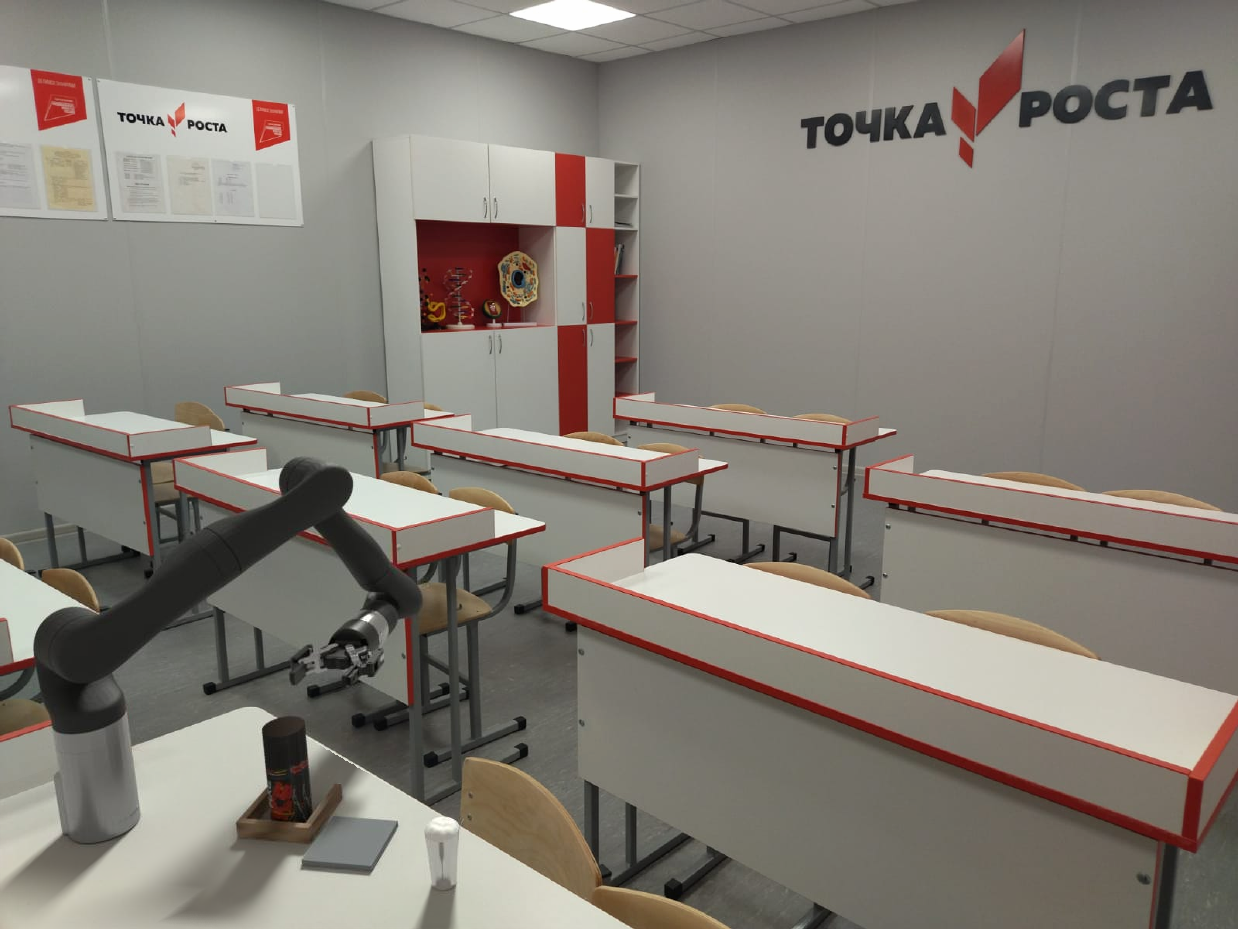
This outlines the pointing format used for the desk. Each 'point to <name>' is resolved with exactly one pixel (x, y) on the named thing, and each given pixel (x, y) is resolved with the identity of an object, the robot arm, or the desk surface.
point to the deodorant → (287, 769)
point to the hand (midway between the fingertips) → (318, 681)
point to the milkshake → (442, 851)
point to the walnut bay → (286, 831)
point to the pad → (350, 843)
